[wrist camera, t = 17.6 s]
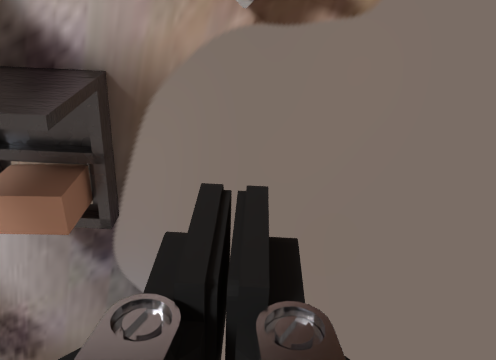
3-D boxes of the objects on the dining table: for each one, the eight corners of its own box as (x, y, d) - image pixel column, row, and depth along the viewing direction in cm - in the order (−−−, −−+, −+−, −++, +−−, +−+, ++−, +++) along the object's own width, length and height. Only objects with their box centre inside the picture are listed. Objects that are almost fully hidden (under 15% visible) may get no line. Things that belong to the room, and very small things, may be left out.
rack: (6, 210, 46) (-73, 290, 35) (-25, 65, 40) (-133, 107, 29) (119, 216, 46) (74, 297, 35) (105, 71, 40) (45, 115, 29)
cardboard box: (18, 198, 44) (-16, 233, 39) (10, 164, 42) (-27, 195, 37) (92, 200, 44) (68, 234, 38) (87, 165, 42) (61, 196, 37)
